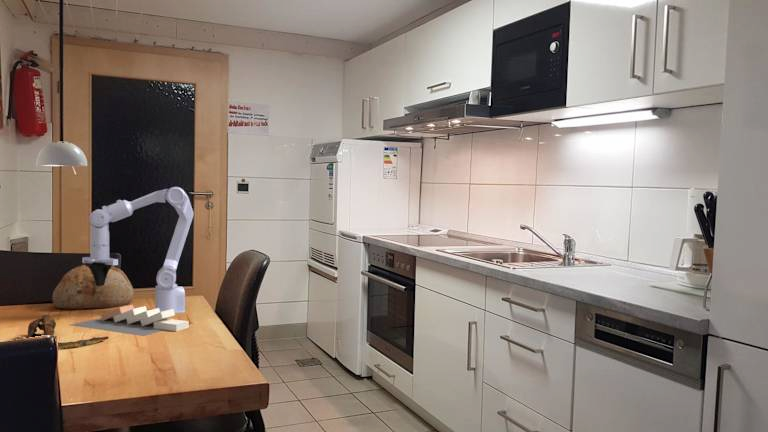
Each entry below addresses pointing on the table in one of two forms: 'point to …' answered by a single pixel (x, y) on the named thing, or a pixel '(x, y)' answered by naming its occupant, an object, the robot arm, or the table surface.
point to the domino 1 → (116, 312)
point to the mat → (119, 326)
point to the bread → (92, 290)
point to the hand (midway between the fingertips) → (100, 285)
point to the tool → (48, 328)
